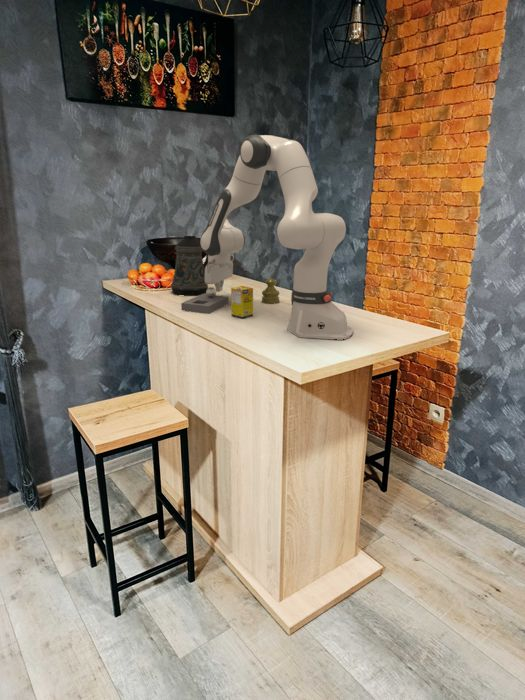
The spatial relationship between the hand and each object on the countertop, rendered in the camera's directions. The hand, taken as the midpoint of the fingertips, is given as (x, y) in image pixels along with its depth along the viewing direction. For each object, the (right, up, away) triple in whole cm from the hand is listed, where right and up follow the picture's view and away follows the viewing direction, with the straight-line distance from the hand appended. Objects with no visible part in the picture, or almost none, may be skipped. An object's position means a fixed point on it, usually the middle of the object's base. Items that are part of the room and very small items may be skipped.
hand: (219, 291), depth 208 cm
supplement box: (+11, -12, -22) cm, 28 cm away
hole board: (-5, -8, -10) cm, 13 cm away
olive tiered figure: (+22, -5, 0) cm, 22 cm away
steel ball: (-3, -1, -7) cm, 8 cm away
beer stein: (-14, +2, +17) cm, 22 cm away
